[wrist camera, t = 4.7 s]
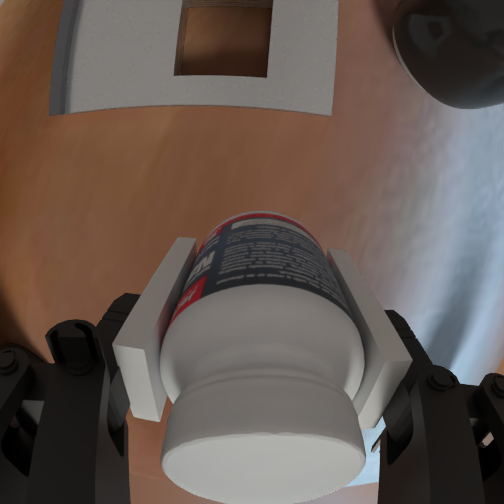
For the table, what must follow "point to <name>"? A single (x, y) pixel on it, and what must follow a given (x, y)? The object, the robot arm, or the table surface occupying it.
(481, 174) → the table surface
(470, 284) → the table surface
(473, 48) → the pump dispenser
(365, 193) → the table surface
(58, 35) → the jig
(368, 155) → the table surface
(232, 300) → the pill bottle
